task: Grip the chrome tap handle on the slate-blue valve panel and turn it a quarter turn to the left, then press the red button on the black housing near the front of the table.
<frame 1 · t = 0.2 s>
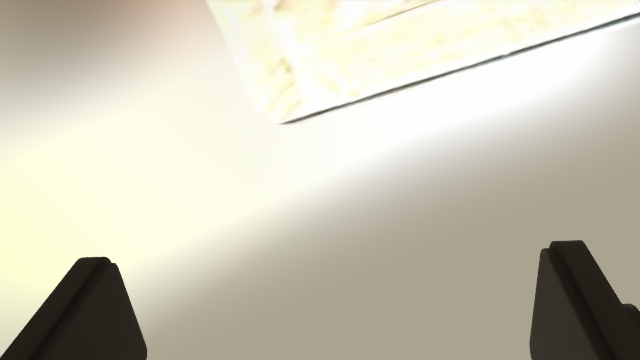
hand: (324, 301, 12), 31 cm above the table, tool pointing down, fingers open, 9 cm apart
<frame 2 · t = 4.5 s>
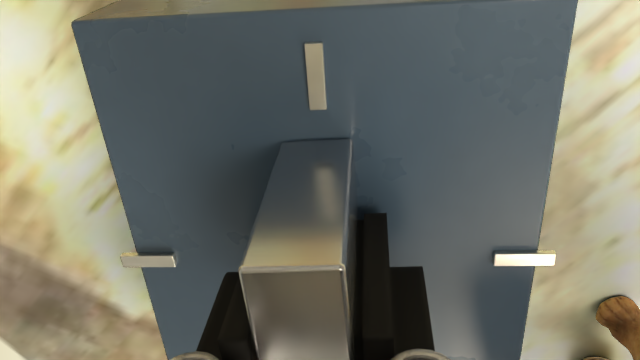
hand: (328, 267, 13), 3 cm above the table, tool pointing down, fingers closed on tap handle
valve panel: (336, 195, 16), on the table
tap handle: (322, 327, 11), point 5 cm above the table, hinge at 1.7°, touching gripper
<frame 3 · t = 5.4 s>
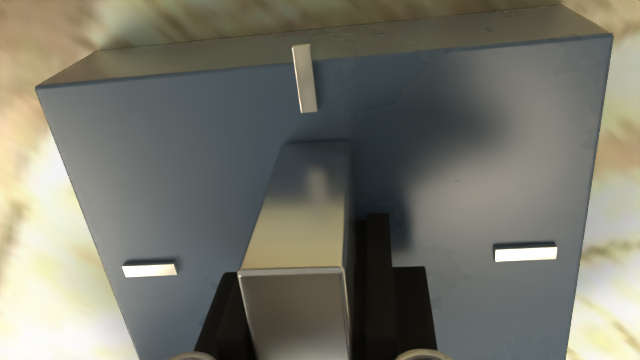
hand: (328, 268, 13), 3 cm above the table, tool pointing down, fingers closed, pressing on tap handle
valve panel: (335, 197, 16), on the table
tap handle: (322, 330, 11), point 5 cm above the table, hinge at 89.2°, touching gripper
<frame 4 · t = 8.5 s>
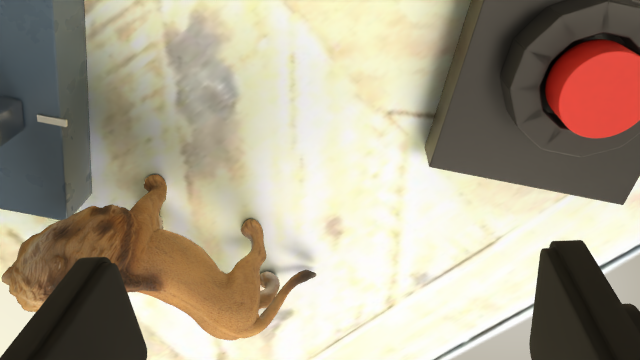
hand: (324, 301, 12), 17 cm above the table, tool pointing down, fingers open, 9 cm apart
red button: (597, 89, 21), point 4 cm above the table, slide at 0.1 cm
button box: (561, 57, 25), on the table
lion figurine: (195, 226, 32), on the table
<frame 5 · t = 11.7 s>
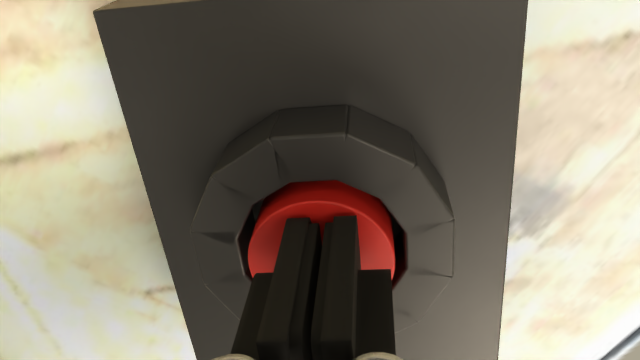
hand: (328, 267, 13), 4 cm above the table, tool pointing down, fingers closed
red button: (323, 243, 13), point 4 cm above the table, slide at -0.8 cm, touching gripper
button box: (330, 177, 17), on the table
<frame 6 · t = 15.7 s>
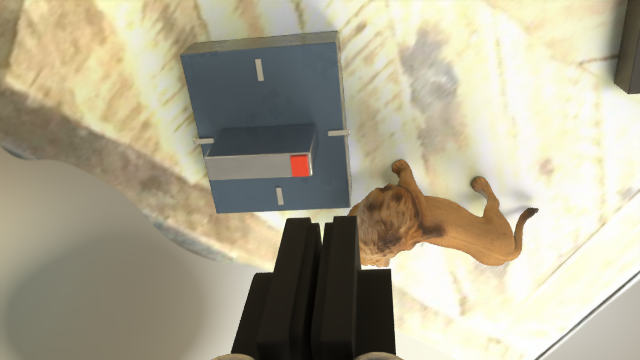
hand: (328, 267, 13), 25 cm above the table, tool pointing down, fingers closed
valve panel: (277, 119, 38), on the table
tap handle: (264, 151, 33), point 5 cm above the table, hinge at 89.4°
lion figurine: (432, 194, 40), on the table
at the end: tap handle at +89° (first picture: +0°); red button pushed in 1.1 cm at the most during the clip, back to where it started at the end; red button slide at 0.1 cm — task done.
